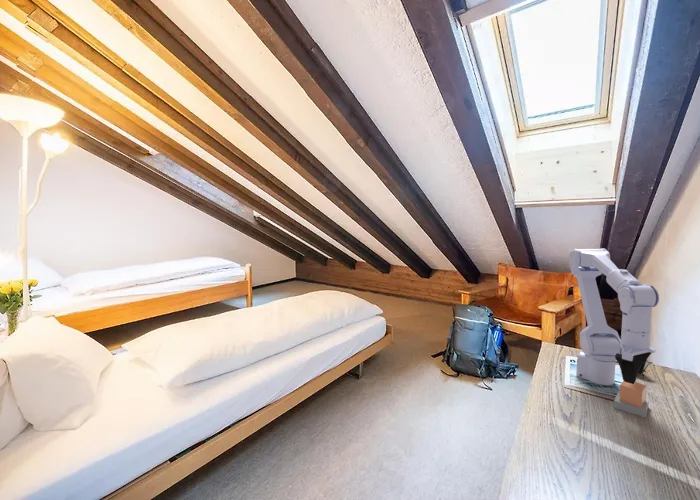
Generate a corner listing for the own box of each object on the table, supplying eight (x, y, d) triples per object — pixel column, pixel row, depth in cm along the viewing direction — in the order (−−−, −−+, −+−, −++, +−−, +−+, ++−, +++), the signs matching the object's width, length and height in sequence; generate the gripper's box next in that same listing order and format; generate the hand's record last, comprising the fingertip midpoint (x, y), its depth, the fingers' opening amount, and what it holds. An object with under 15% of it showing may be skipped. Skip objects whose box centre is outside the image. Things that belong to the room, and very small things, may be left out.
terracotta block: (619, 400, 87) (620, 384, 87) (624, 393, 90) (625, 378, 89) (641, 407, 83) (642, 391, 83) (645, 400, 86) (646, 385, 85)
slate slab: (613, 407, 87) (614, 400, 87) (618, 397, 91) (618, 391, 91) (645, 417, 82) (645, 410, 82) (648, 407, 87) (648, 400, 86)
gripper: (649, 341, 77) (645, 393, 79) (662, 326, 86) (658, 374, 87) (613, 333, 83) (610, 382, 84) (628, 320, 91) (625, 365, 93)
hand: (632, 377), depth 86 cm, fingers open, 7 cm apart
